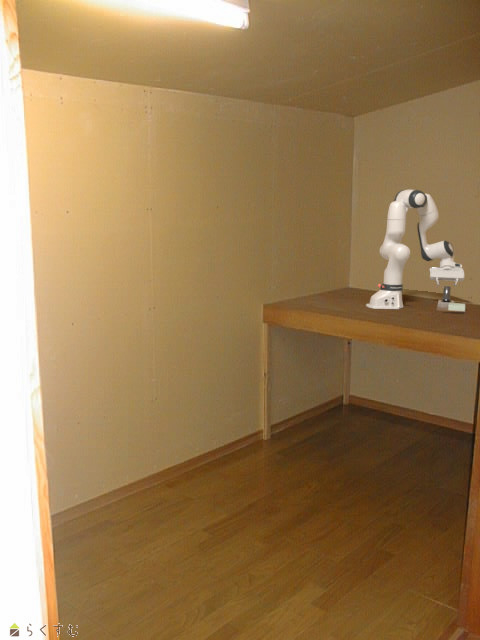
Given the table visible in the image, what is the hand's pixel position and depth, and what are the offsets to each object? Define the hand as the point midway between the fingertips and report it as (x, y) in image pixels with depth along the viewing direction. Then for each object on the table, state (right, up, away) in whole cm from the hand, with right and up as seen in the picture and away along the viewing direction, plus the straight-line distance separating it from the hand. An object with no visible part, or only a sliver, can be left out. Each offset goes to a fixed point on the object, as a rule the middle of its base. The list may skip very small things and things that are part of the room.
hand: (446, 285), depth 361 cm
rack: (+1, -15, -14) cm, 21 cm away
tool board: (-1, -15, -8) cm, 18 cm away
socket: (-2, -13, -3) cm, 13 cm away
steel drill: (-2, -13, -3) cm, 13 cm away
